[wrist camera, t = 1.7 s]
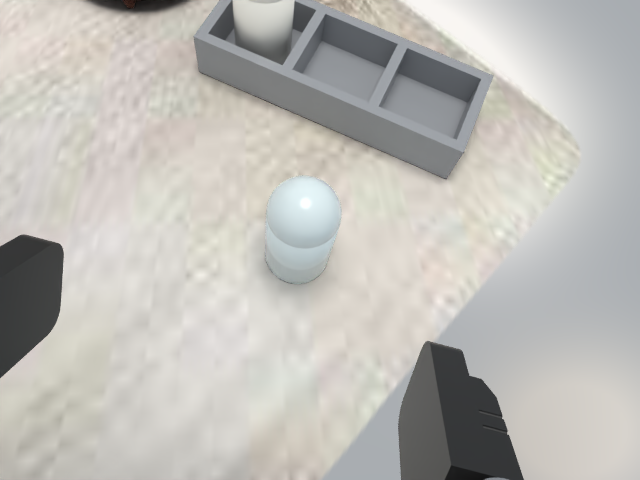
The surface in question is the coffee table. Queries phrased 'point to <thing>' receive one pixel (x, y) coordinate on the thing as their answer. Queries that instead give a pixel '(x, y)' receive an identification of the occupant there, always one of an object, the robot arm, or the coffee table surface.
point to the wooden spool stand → (130, 3)
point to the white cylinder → (264, 27)
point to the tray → (356, 83)
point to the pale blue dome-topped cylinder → (301, 228)
